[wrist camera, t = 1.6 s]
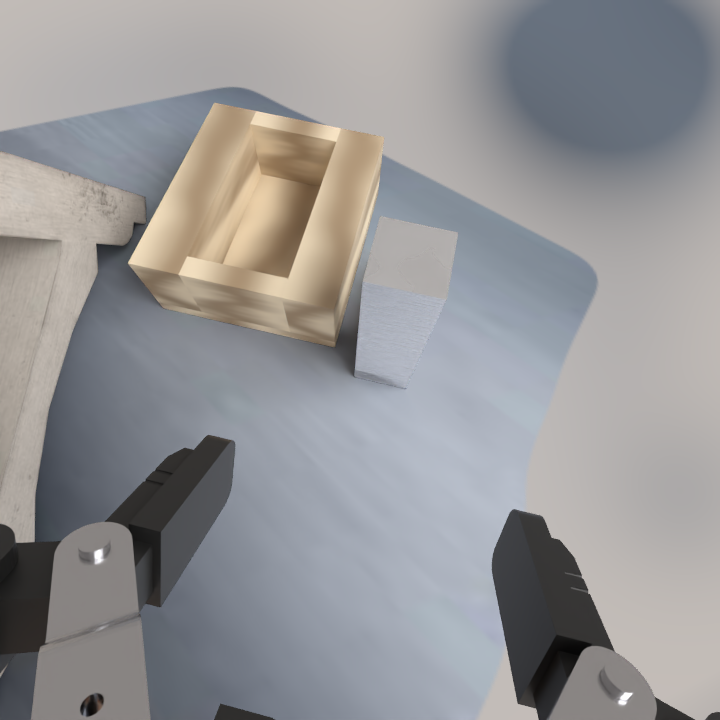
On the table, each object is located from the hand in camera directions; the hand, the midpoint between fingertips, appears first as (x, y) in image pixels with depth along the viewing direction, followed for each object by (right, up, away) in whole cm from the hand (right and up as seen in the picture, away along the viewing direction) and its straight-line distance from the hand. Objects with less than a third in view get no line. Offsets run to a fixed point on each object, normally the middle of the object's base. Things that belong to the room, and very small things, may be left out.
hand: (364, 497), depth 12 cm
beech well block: (-7, +14, +24) cm, 28 cm away
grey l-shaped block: (+2, +7, +21) cm, 23 cm away
